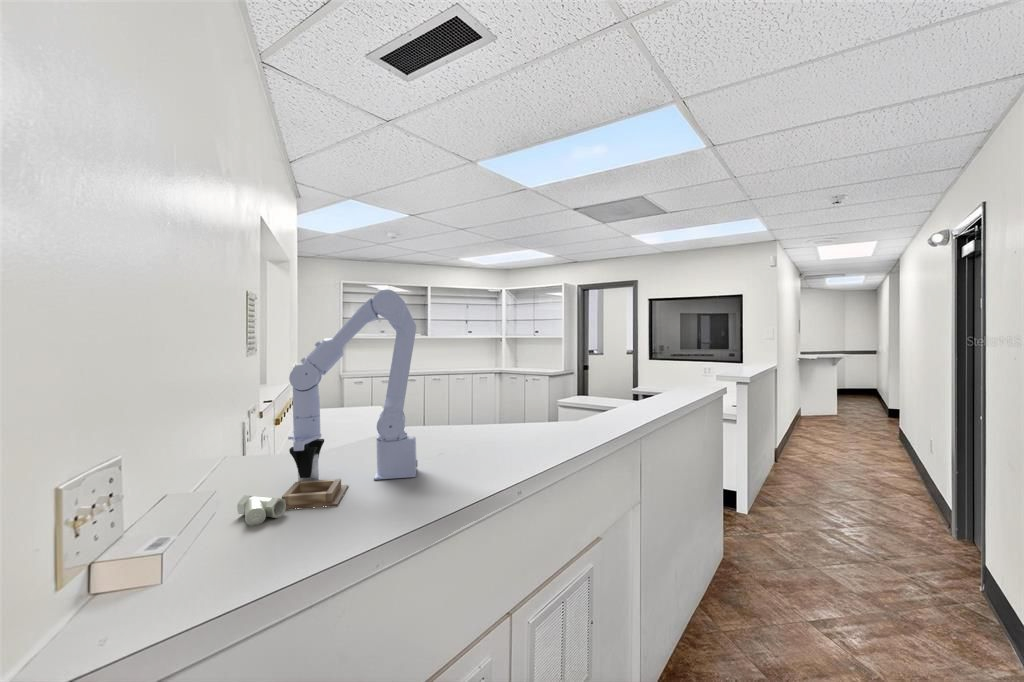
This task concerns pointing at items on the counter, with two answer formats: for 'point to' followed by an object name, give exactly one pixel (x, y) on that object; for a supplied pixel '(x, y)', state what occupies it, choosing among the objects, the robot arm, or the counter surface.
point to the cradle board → (314, 494)
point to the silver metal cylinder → (314, 471)
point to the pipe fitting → (260, 508)
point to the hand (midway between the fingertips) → (308, 474)
